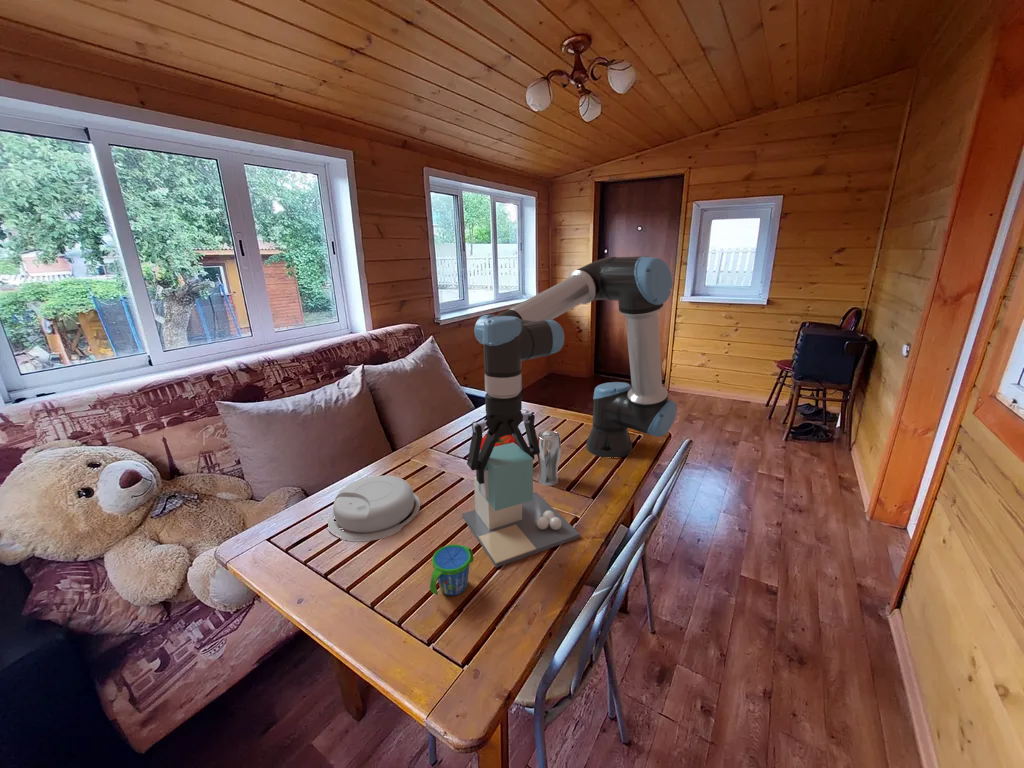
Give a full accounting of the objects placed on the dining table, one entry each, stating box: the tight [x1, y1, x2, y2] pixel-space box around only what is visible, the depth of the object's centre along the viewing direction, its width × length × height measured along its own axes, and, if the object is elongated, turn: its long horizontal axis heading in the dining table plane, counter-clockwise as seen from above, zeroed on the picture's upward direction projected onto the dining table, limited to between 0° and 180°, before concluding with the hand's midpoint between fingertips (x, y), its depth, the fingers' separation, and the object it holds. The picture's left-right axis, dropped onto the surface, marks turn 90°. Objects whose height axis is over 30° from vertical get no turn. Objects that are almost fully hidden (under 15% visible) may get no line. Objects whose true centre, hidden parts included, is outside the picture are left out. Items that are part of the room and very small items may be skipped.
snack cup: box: [429, 544, 474, 596], centre depth 86 cm, size 11×8×7 cm
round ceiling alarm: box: [328, 474, 421, 543], centre depth 113 cm, size 25×25×6 cm
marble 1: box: [536, 517, 549, 530], centre depth 103 cm, size 3×3×3 cm
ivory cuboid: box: [473, 475, 522, 530], centre depth 108 cm, size 9×9×10 cm
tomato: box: [480, 433, 519, 450], centre depth 134 cm, size 14×13×10 cm
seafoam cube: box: [478, 443, 534, 511], centre depth 93 cm, size 9×9×10 cm
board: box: [461, 491, 581, 569], centre depth 106 cm, size 22×21×1 cm
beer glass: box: [536, 430, 562, 487], centre depth 125 cm, size 7×7×15 cm
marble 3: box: [549, 517, 562, 530], centre depth 103 cm, size 3×3×3 cm
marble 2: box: [543, 510, 555, 522], centre depth 106 cm, size 3×3×3 cm
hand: (505, 489), depth 94 cm, fingers closed on seafoam cube, 9 cm apart
